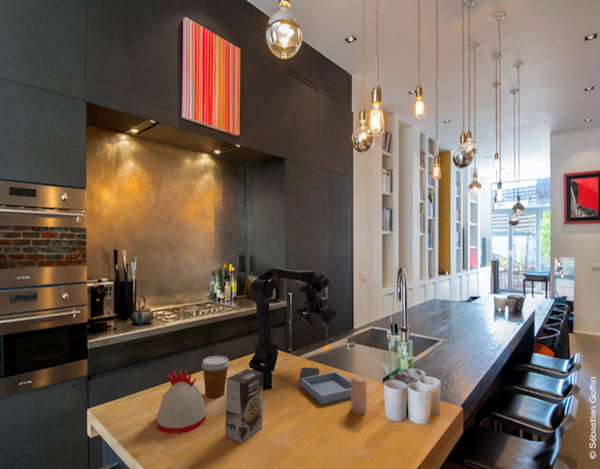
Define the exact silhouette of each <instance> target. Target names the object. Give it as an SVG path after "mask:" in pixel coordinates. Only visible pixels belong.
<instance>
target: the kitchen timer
mask: <svg viewBox="0 0 600 469" xmlns="http://www.w3.org/2000/svg"><path fill="white" fill-rule="evenodd" d="M178 372H179V373H178V376H177V372H176V370H173V372H172V375H171V374H168V376H167V378H168V379H169V382H170V384H171V386H170V387H169V388H168V389H167V391H165V394H163V395H162V399H161V401H160V402H161V403H160V405H159V408H158V411H157V416H156V428H157V430H158V431H160V432H161V433H164V434H168V435H169V434H170V435H177V434H178V435H180V434H185V433H189V432H191V431H194V430H196V429H197V428H199V427H201V426H202V425H203V424H204V423H205V421H206V415H207V414H206V413H207V412H206V406H205V401H204V398H203V395H202V393H201V391H200V390H199V389H198V387H197V386H196V385H195V383H196V380H197V378H194V379H193V380H192V381H191V378H192V374H191V373H190V374H189V375H187V370H186V369H185V370H184V371H183V374H182V370H181V369H180V370H179V371H178Z"/></svg>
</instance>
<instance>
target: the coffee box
mask: <svg viewBox="0 0 600 469" xmlns="http://www.w3.org/2000/svg"><path fill="white" fill-rule="evenodd" d="M263 391H264V390H263V373H262V372H258V371H254V370H253V369H251V368H250V369H249V368H245V369H244V370H242V371H240V372H237V373H235V374H233V375H231V376H229V377H226V392H225V393H226V396H225V398H226V399H225V429H224V430H225V437H227V438H228V439H231V440H233V441H235V442H237V443H239V444H242V443H244V442H245V441H246V440H247V439H249V438H251V437H252V436H253V435H255V434H256V433H257V432H259V431H260V430H262V429H263V410H264V408H263V403H264V402H263V396H264V394H263V393H264V392H263Z"/></svg>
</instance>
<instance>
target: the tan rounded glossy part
mask: <svg viewBox="0 0 600 469" xmlns="http://www.w3.org/2000/svg"><path fill="white" fill-rule="evenodd" d="M350 381H351V398H350V411H351V413H353V414H355V415H365V414H366V413H367V402H368V399H367V397H368V396H367V394H368V390H367V389H368V387H367V386H368V379H367V378H366V377H364V376H360V375H357V376H356V375H355V376H352V377H351V378H350Z"/></svg>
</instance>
